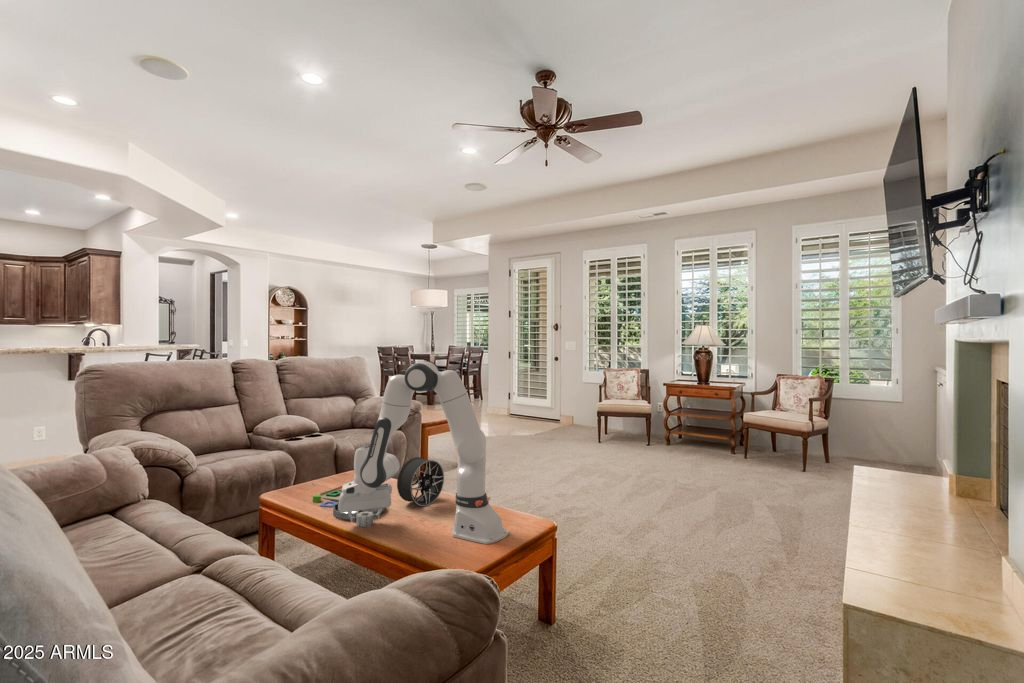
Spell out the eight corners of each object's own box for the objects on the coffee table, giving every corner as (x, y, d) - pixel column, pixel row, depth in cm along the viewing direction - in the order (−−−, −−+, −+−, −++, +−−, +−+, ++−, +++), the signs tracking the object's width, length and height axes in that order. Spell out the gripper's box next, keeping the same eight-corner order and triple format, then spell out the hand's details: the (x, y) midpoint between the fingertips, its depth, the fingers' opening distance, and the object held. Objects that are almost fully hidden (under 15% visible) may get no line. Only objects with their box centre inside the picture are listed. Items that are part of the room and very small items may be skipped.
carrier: (394, 510, 212) (394, 497, 212) (352, 524, 195) (352, 510, 195) (365, 499, 225) (365, 487, 225) (323, 512, 208) (323, 499, 208)
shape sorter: (358, 483, 251) (358, 475, 251) (386, 489, 242) (386, 480, 242) (302, 503, 221) (302, 493, 221) (332, 510, 212) (333, 500, 212)
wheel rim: (410, 511, 211) (411, 465, 211) (396, 506, 216) (397, 461, 216) (443, 499, 227) (444, 456, 227) (430, 495, 232) (430, 453, 232)
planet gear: (376, 523, 197) (377, 513, 197) (362, 528, 191) (362, 518, 191) (367, 519, 201) (367, 510, 201) (352, 524, 195) (353, 514, 195)
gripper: (390, 480, 203) (390, 514, 203) (338, 486, 195) (337, 520, 195) (393, 485, 197) (392, 519, 197) (338, 490, 189) (338, 526, 189)
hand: (365, 520), depth 196 cm, fingers open, 8 cm apart
